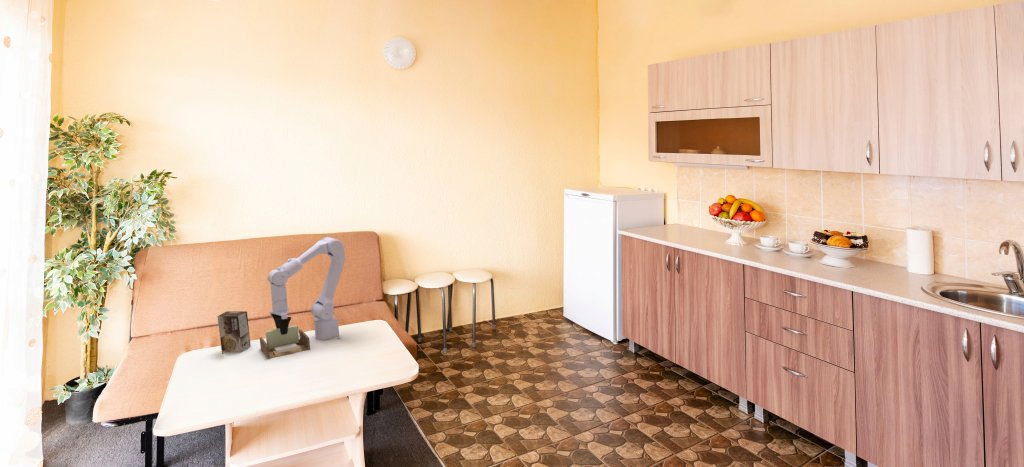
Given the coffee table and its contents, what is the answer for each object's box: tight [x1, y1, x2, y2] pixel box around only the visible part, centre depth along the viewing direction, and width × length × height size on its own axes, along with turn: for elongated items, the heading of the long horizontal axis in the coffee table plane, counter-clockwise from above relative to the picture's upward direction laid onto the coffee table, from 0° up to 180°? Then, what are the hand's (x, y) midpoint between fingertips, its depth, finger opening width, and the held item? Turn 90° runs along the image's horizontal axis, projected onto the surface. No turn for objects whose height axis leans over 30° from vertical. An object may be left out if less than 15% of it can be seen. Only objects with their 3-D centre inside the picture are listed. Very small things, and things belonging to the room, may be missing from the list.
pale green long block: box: [265, 324, 300, 349], centre depth 216 cm, size 12×2×8 cm, turn 125°
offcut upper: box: [274, 344, 298, 353], centre depth 211 cm, size 8×4×1 cm, turn 125°
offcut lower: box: [273, 345, 303, 358], centre depth 211 cm, size 10×4×1 cm, turn 125°
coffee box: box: [217, 310, 252, 355], centre depth 215 cm, size 9×6×16 cm
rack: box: [259, 328, 311, 360], centre depth 214 cm, size 16×13×6 cm
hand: (282, 331), depth 216 cm, fingers open, 7 cm apart
